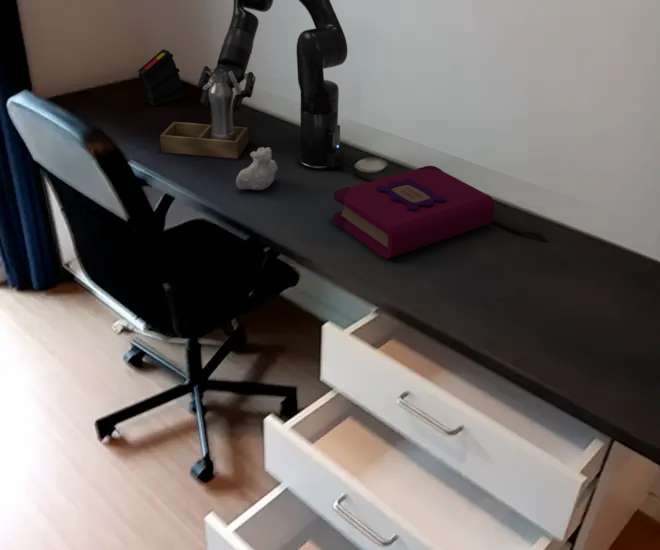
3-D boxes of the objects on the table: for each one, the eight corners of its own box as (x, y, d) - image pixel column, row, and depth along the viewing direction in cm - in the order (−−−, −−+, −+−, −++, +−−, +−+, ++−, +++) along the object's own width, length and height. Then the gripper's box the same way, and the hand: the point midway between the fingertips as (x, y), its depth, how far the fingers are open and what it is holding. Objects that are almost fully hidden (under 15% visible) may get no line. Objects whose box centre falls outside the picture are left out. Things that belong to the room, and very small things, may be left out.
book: (491, 228, 155) (497, 196, 151) (389, 263, 142) (392, 229, 138) (428, 191, 170) (431, 162, 166) (330, 220, 156) (331, 188, 152)
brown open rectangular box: (248, 143, 193) (247, 127, 190) (237, 158, 184) (237, 142, 181) (175, 137, 195) (173, 121, 193) (161, 152, 186) (159, 135, 184)
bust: (241, 203, 167) (260, 177, 158) (223, 177, 168) (241, 150, 159) (278, 188, 175) (298, 162, 166) (260, 163, 176) (279, 136, 167)
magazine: (191, 90, 224) (170, 50, 213) (162, 117, 219) (139, 78, 208) (184, 88, 226) (163, 48, 215) (154, 114, 222) (131, 75, 210)
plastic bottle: (207, 151, 187) (201, 75, 176) (218, 142, 193) (213, 67, 182) (230, 154, 185) (225, 77, 175) (240, 145, 191) (236, 70, 180)
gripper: (206, 40, 183) (187, 97, 180) (257, 46, 180) (239, 104, 176) (216, 55, 190) (199, 111, 187) (266, 61, 187) (249, 118, 184)
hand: (219, 107), depth 182 cm, fingers open, 8 cm apart
